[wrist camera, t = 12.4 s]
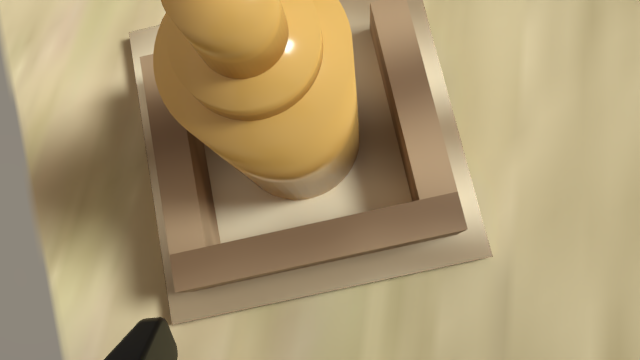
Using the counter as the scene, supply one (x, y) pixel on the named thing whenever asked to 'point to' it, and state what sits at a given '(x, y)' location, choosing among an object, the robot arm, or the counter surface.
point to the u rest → (329, 208)
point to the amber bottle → (264, 87)
